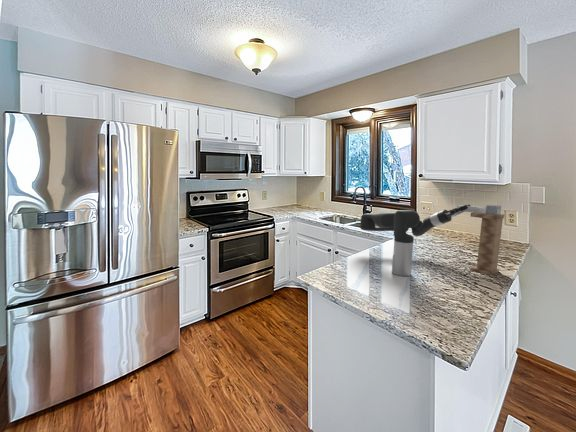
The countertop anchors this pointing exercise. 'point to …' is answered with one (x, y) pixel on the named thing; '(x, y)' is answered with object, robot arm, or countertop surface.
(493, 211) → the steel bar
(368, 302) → the countertop surface
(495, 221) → the wooden pedestal
